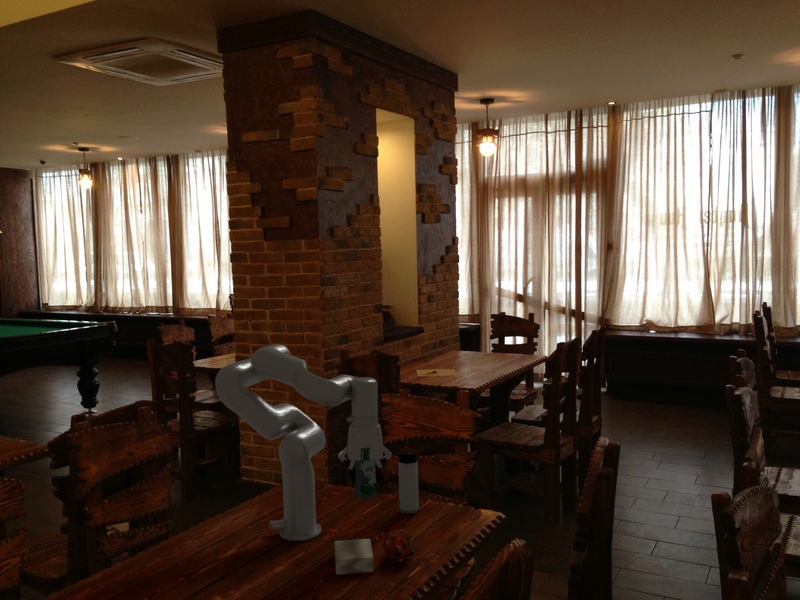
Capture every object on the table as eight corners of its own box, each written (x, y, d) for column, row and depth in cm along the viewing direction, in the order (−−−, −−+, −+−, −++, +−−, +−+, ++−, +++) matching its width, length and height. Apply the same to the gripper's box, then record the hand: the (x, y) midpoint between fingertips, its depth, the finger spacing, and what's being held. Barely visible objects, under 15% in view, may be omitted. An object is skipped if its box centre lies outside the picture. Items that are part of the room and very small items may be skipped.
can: (367, 500, 200) (367, 449, 199) (350, 496, 203) (350, 446, 202) (379, 494, 205) (379, 444, 204) (362, 490, 208) (362, 441, 207)
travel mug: (396, 513, 227) (394, 453, 225) (403, 506, 233) (402, 447, 231) (414, 515, 224) (413, 454, 223) (421, 508, 231) (420, 449, 229)
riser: (336, 574, 185) (335, 560, 185) (335, 554, 197) (334, 541, 197) (373, 571, 186) (373, 557, 186) (370, 552, 198) (369, 538, 198)
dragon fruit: (400, 553, 200) (401, 579, 189) (376, 538, 199) (375, 563, 188) (417, 531, 199) (419, 556, 187) (393, 516, 198) (393, 540, 186)
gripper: (335, 425, 198) (335, 486, 199) (395, 422, 200) (396, 483, 201) (334, 418, 205) (335, 477, 207) (393, 416, 207) (393, 475, 209)
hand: (365, 480), depth 204 cm, fingers closed on can, 6 cm apart
